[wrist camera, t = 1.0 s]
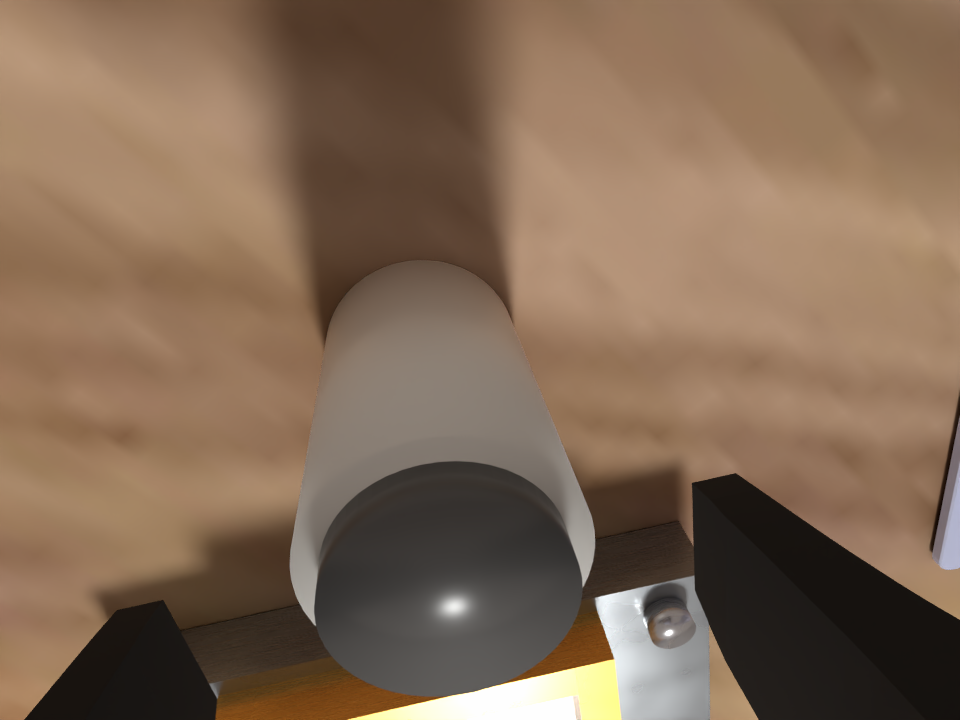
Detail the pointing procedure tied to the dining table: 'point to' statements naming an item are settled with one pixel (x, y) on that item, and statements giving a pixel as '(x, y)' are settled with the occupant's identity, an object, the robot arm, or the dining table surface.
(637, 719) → the grey fixture plate
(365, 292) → the lidded can
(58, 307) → the dining table surface
